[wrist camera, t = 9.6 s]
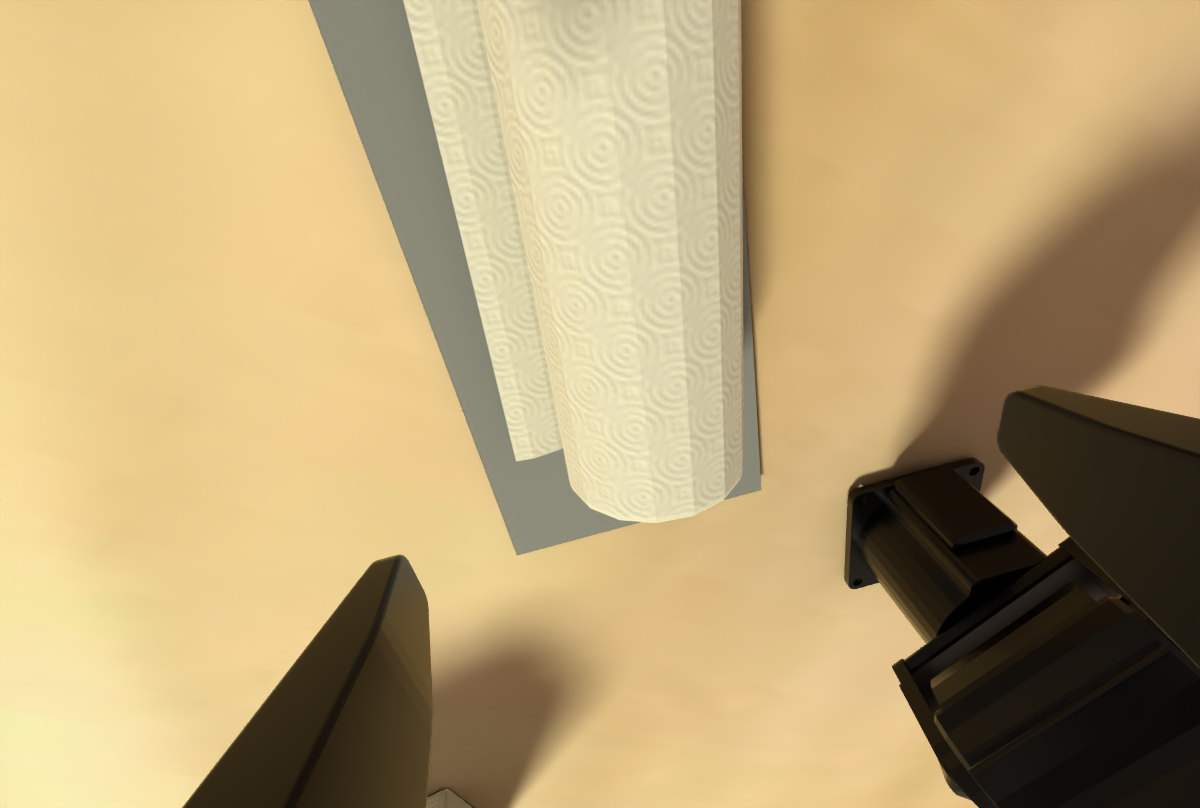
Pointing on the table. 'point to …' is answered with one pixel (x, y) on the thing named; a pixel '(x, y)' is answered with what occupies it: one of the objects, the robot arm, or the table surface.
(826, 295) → the table surface
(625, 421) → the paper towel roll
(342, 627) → the robot arm
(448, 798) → the skincare box
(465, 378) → the gray mat
